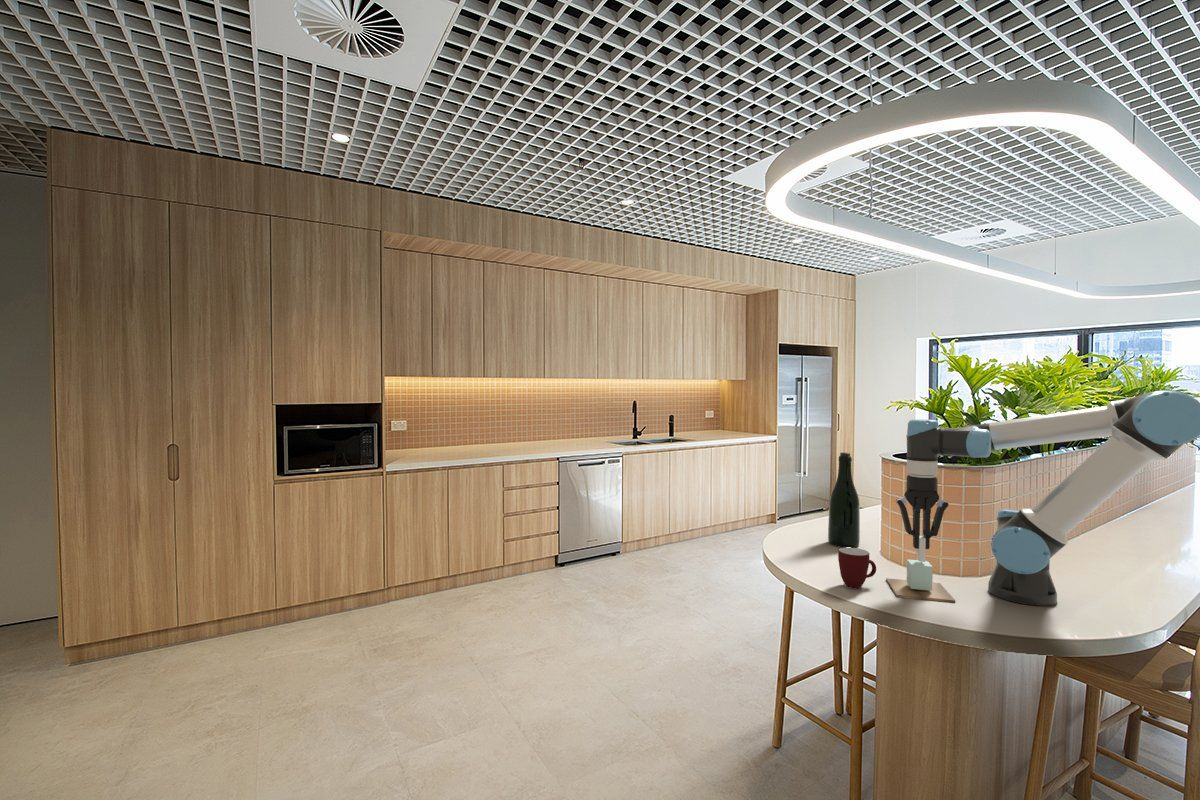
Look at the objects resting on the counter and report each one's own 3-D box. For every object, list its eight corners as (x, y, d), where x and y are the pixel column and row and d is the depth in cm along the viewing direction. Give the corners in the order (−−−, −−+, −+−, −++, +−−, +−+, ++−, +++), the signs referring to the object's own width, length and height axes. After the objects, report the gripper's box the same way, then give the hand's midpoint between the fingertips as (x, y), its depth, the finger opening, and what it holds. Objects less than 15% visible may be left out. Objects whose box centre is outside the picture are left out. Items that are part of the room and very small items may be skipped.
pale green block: (927, 584, 163) (927, 561, 162) (932, 590, 158) (932, 566, 157) (906, 582, 164) (907, 559, 164) (910, 588, 159) (911, 564, 159)
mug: (863, 580, 169) (864, 546, 169) (883, 589, 162) (883, 554, 161) (831, 582, 167) (832, 548, 167) (849, 592, 159) (850, 556, 159)
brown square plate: (939, 585, 166) (940, 560, 166) (955, 602, 152) (956, 575, 152) (886, 580, 170) (886, 555, 169) (896, 596, 156) (897, 570, 156)
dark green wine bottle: (822, 540, 213) (824, 450, 212) (849, 540, 214) (851, 450, 213) (837, 548, 202) (838, 454, 201) (865, 548, 203) (867, 454, 203)
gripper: (944, 474, 162) (943, 558, 163) (893, 472, 166) (892, 554, 166) (952, 478, 155) (951, 566, 155) (899, 476, 158) (898, 562, 159)
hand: (921, 560), depth 161 cm, fingers closed
